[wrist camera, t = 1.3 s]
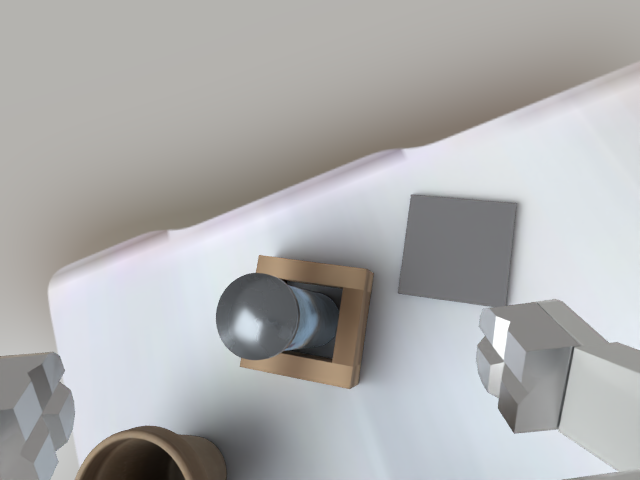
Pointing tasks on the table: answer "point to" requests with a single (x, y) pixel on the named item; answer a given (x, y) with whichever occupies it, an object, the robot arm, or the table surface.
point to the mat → (458, 250)
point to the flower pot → (153, 457)
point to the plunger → (273, 317)
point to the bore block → (349, 328)
